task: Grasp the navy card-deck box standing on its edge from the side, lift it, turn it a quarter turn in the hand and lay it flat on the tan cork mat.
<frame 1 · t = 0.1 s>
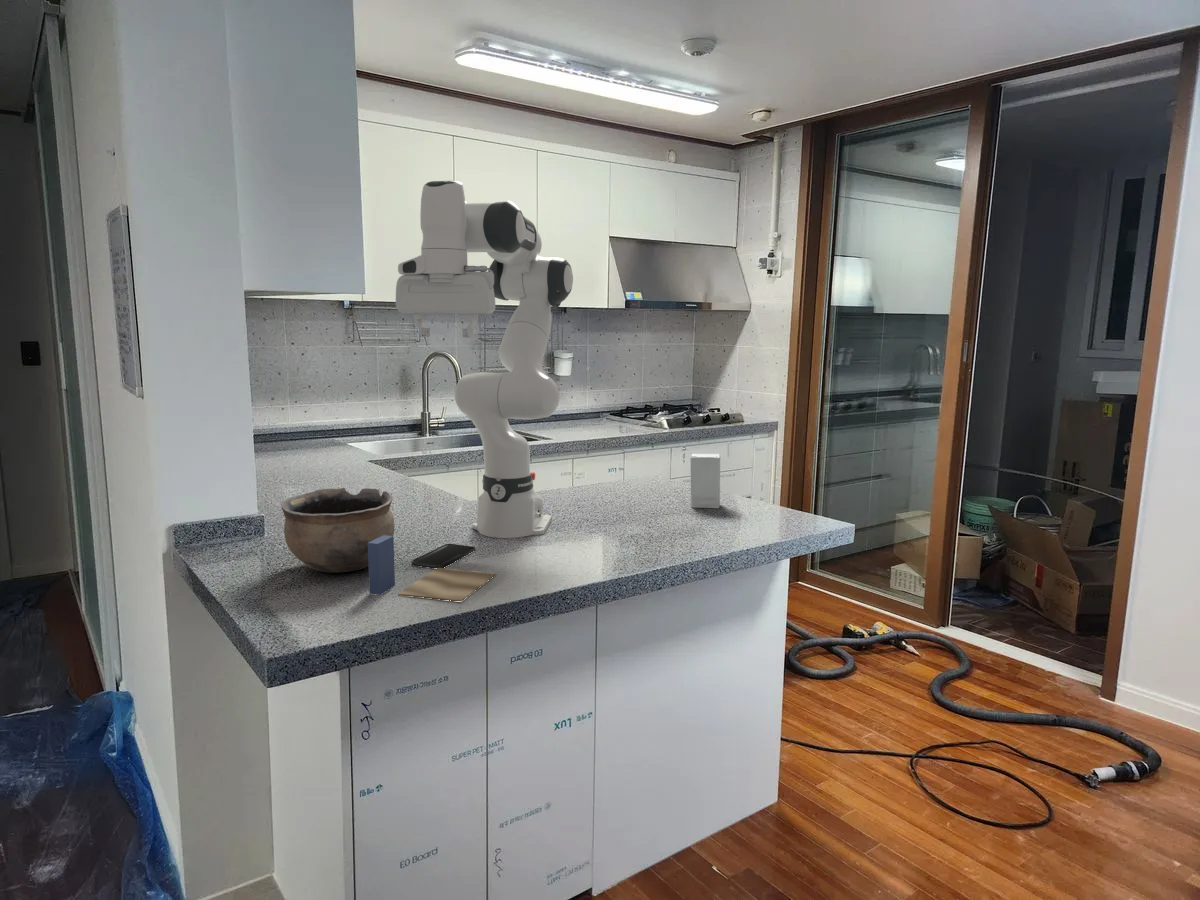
hand: (446, 337, 152), 48 cm above the countertop, tool pointing down, fingers open, 8 cm apart
mat: (448, 585, 150), on the countertop
deck box: (382, 589, 148), on the countertop
ceramic bowl: (342, 569, 160), on the countertop
phone: (444, 559, 168), on the countertop
skincare box: (704, 507, 217), on the countertop
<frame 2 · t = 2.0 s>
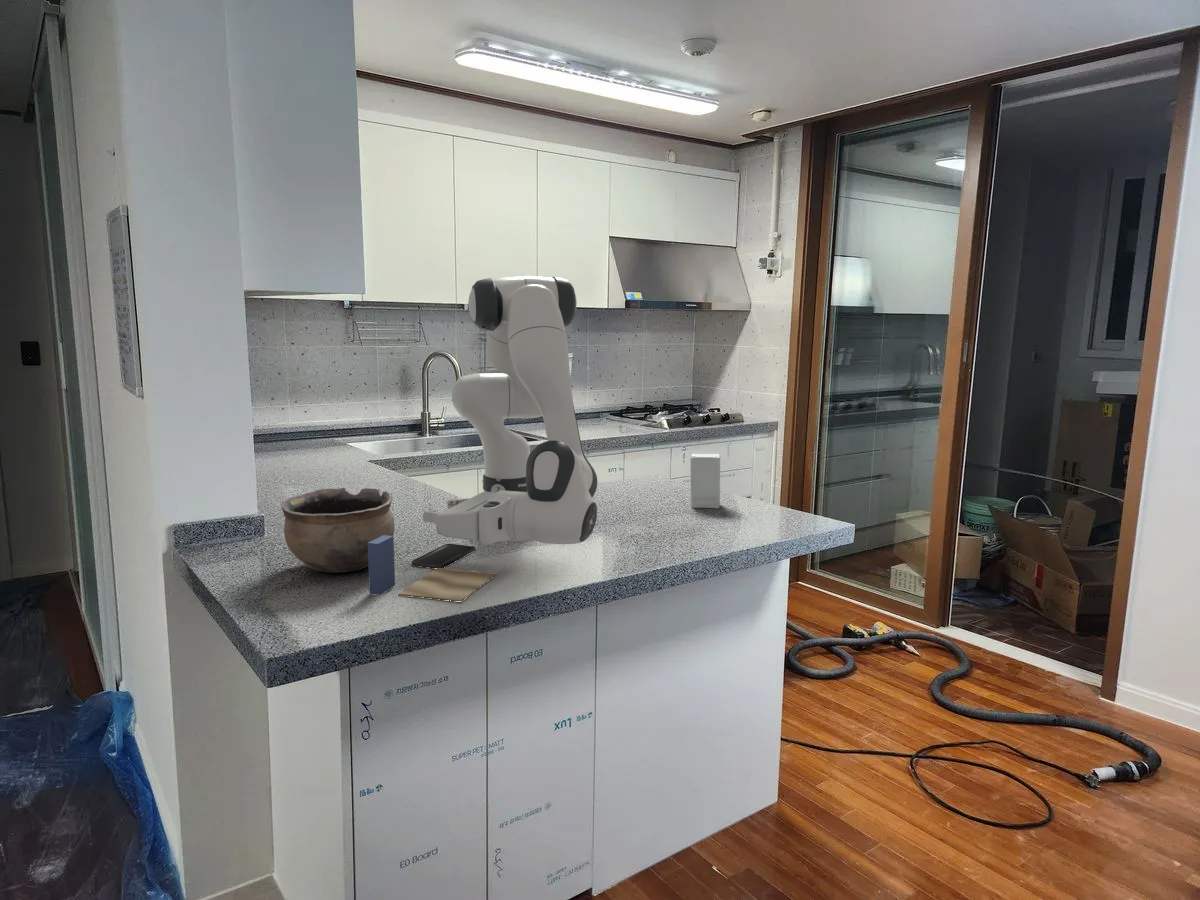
hand: (437, 509, 142), 17 cm above the countertop, tool horizontal, fingers open, 8 cm apart
nothing on the countertop moved.
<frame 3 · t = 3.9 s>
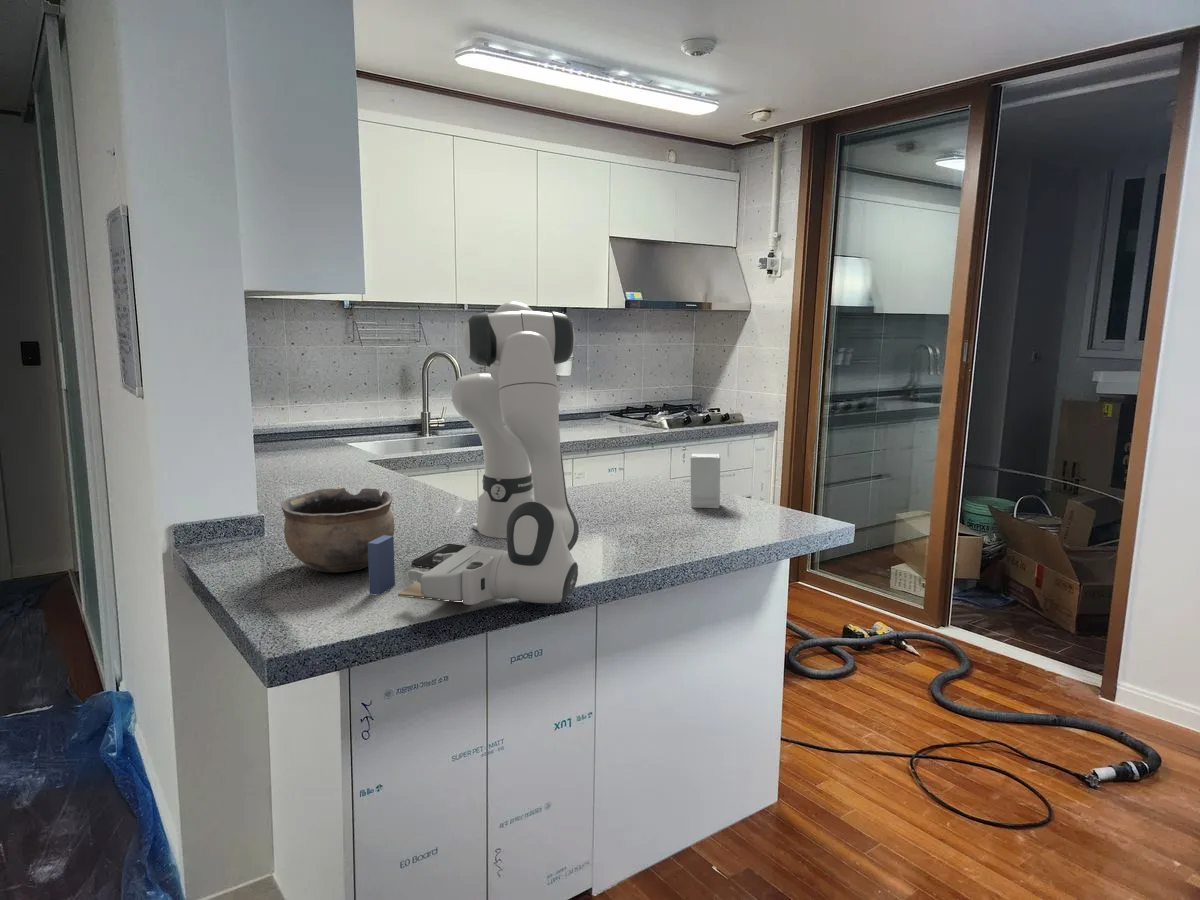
hand: (422, 566, 145), 5 cm above the countertop, tool horizontal, fingers open, 8 cm apart
nothing on the countertop moved.
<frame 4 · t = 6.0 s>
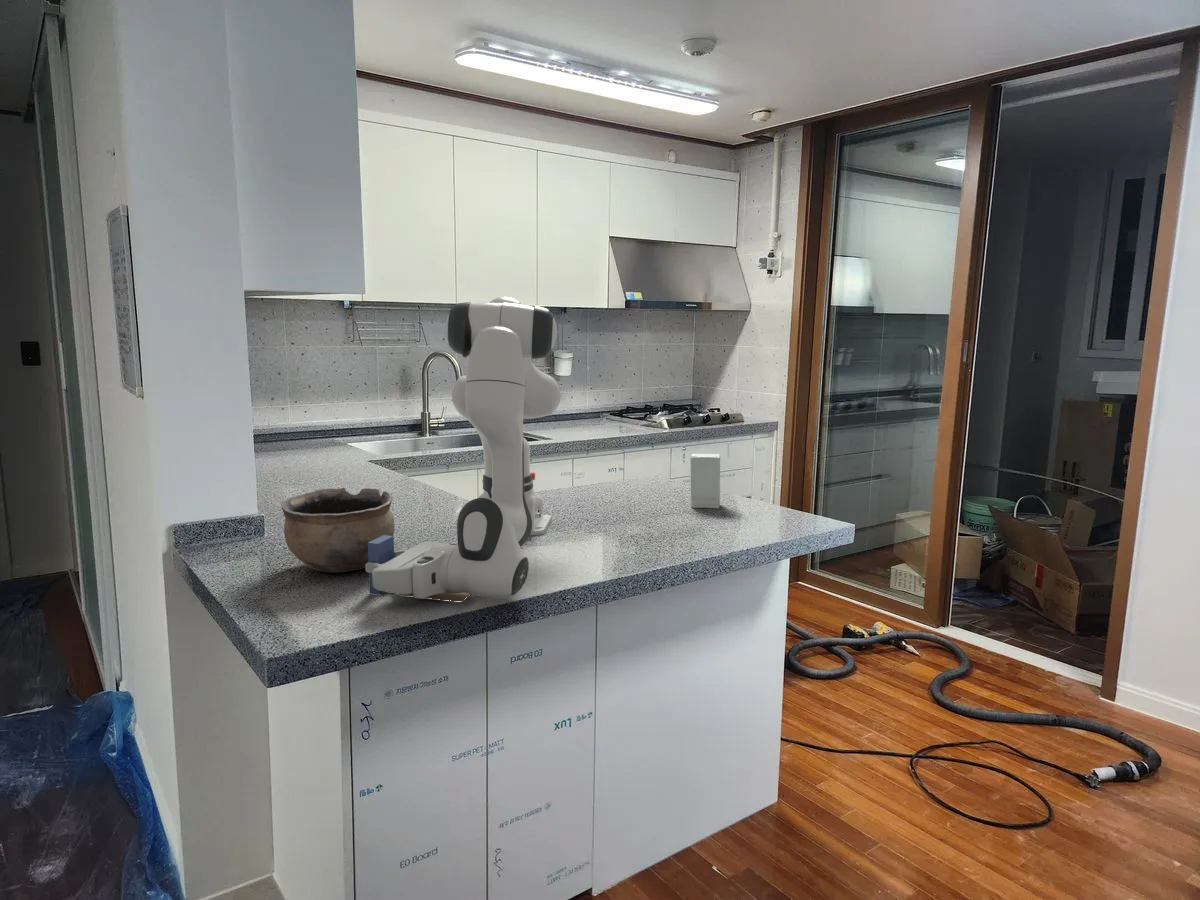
hand: (377, 560, 147), 6 cm above the countertop, tool horizontal, fingers closed on deck box, 5 cm apart
deck box: (382, 589, 148), on the countertop, touching gripper
everything else where it was.
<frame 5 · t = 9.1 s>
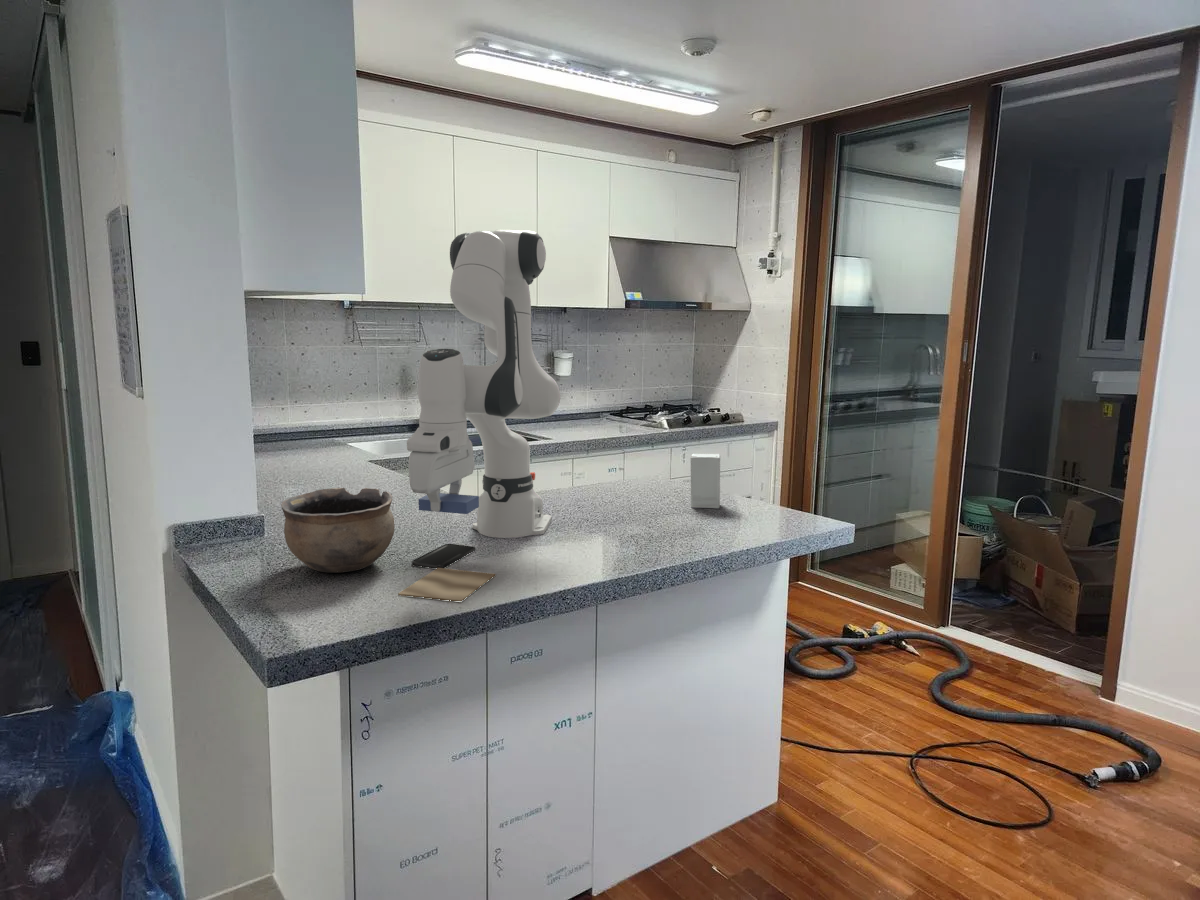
hand: (445, 506, 148), 16 cm above the countertop, tool pointing down, fingers closed on deck box, 5 cm apart
deck box: (472, 504, 146), point 17 cm above the countertop, tilted 90°, touching gripper
everything else where it was.
when the fingers open (2 cm above the countertop, at t = 12.3 s): deck box drops 1 cm, resting on mat.
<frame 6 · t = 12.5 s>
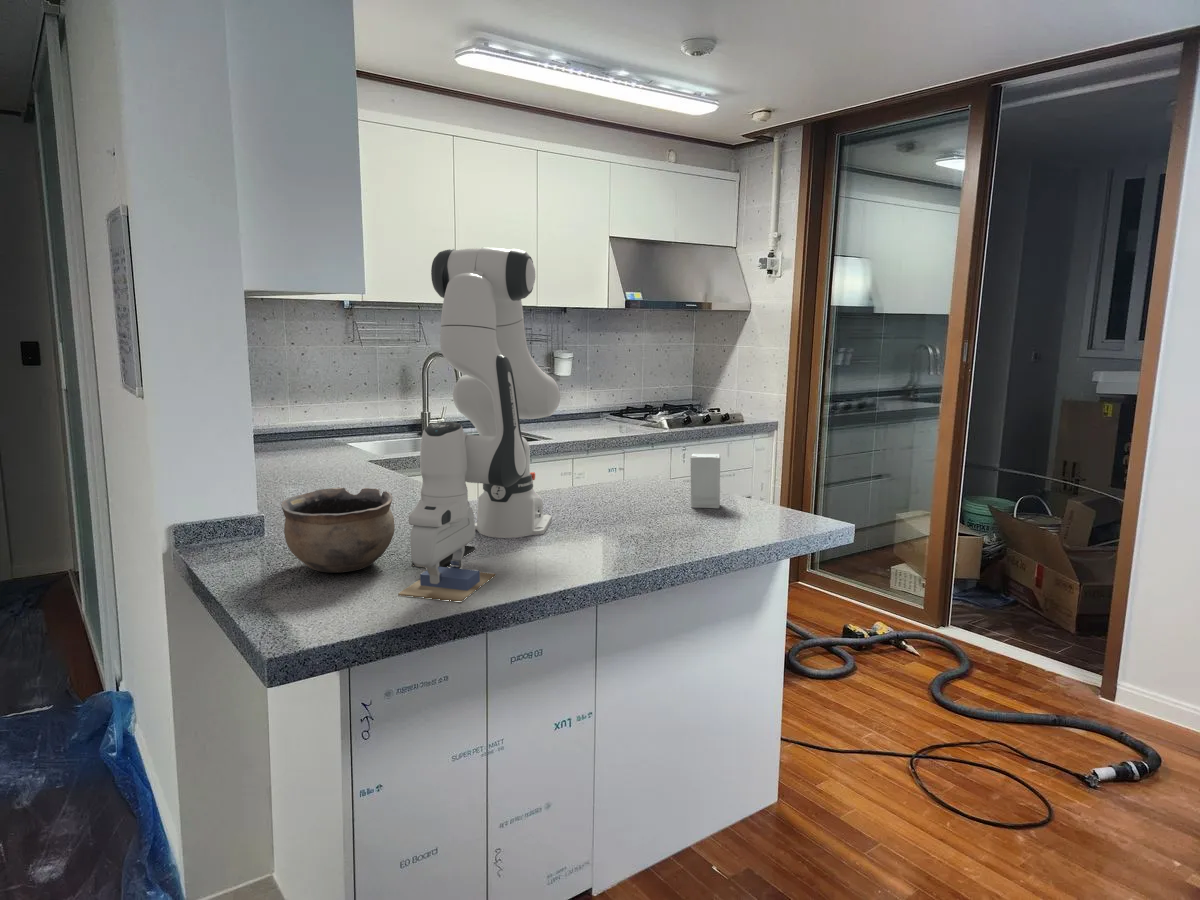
hand: (446, 575, 150), 2 cm above the countertop, tool pointing down, fingers open, 7 cm apart
deck box: (473, 580, 149), point 1 cm above the countertop, tilted 90°, touching mat
everything else where it was.
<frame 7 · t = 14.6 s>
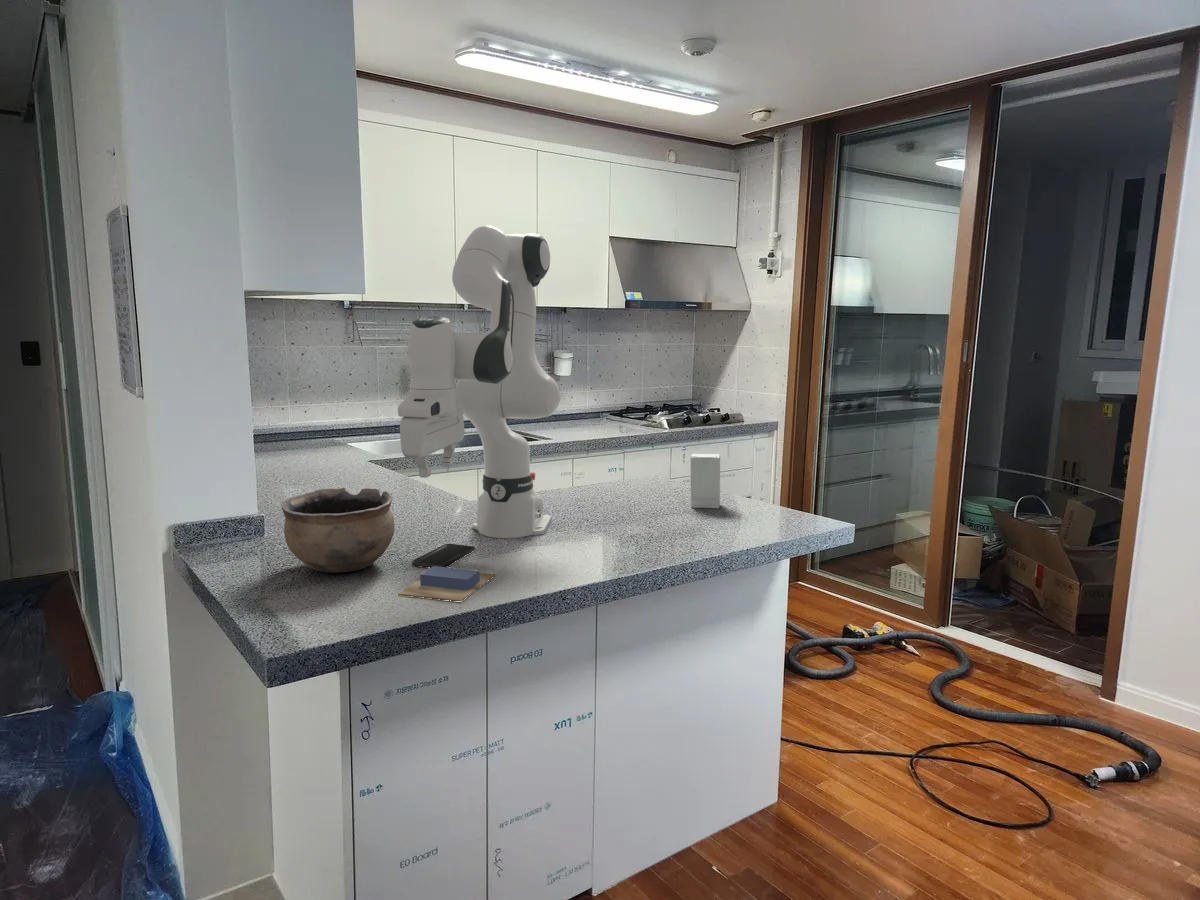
hand: (436, 471, 151), 22 cm above the countertop, tool pointing down, fingers open, 8 cm apart
nothing on the countertop moved.
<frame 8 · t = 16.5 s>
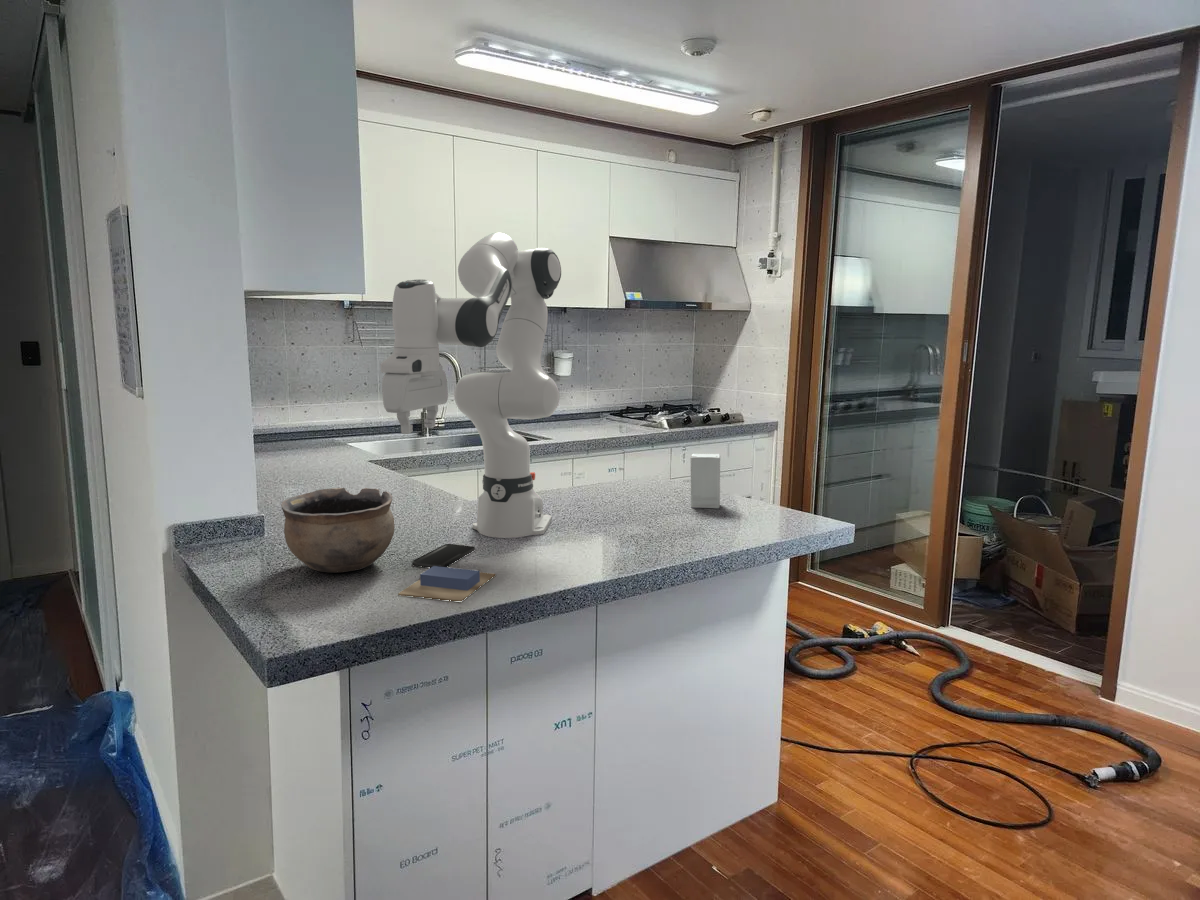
hand: (418, 430, 156), 29 cm above the countertop, tool pointing down, fingers open, 8 cm apart
nothing on the countertop moved.
at the end: deck box inside the target area on the mat (5.3 cm from its centre), point 1.5 cm above the mat's base; deck box tilted 90°; the gripper is holding nothing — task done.
